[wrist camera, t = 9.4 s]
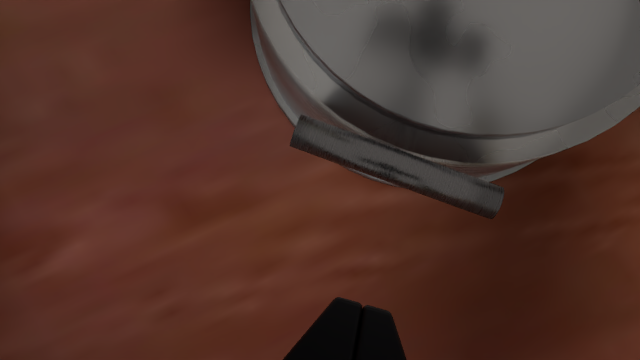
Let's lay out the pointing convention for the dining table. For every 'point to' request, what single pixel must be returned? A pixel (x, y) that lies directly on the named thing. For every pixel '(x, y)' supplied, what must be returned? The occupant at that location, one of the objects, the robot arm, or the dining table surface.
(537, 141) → the pot
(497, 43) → the lid
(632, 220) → the dining table surface
